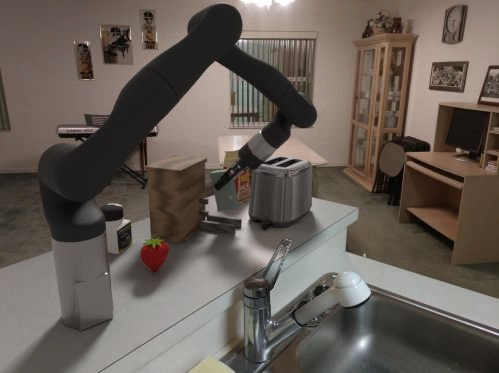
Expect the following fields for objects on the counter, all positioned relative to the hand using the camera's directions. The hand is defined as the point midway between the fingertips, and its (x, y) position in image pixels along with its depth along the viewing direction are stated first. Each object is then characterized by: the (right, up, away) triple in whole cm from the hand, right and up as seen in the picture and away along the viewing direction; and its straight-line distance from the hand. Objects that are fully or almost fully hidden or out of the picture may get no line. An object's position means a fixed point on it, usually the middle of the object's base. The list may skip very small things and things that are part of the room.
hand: (218, 186), depth 113 cm
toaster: (+19, -10, +15) cm, 26 cm away
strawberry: (-13, -21, -24) cm, 34 cm away
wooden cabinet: (-6, -14, 0) cm, 15 cm away
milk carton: (+4, -5, +30) cm, 31 cm away
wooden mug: (+13, -3, +39) cm, 41 cm away
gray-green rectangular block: (+3, -7, +1) cm, 8 cm away
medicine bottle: (-27, -17, -12) cm, 34 cm away
